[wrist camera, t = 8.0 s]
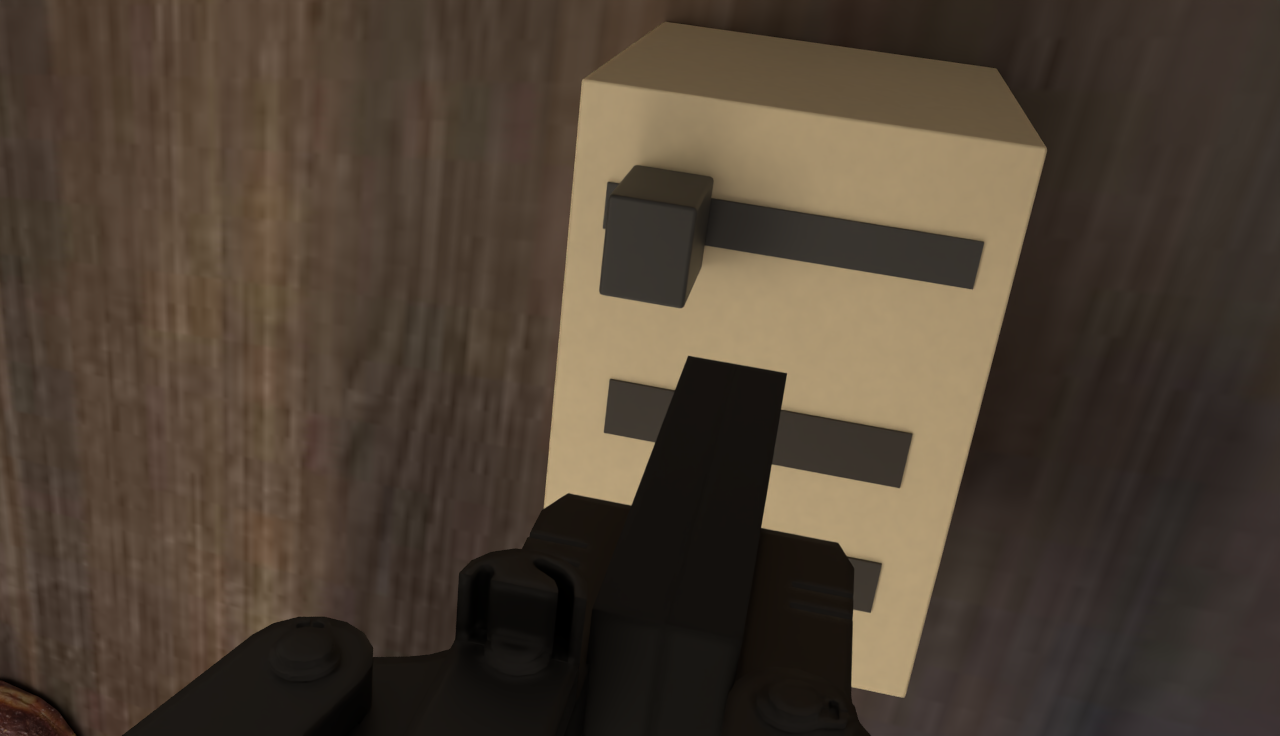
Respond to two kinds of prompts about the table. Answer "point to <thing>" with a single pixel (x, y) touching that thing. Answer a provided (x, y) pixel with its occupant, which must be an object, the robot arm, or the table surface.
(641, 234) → the button
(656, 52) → the toaster
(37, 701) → the pastry
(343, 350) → the table surface
